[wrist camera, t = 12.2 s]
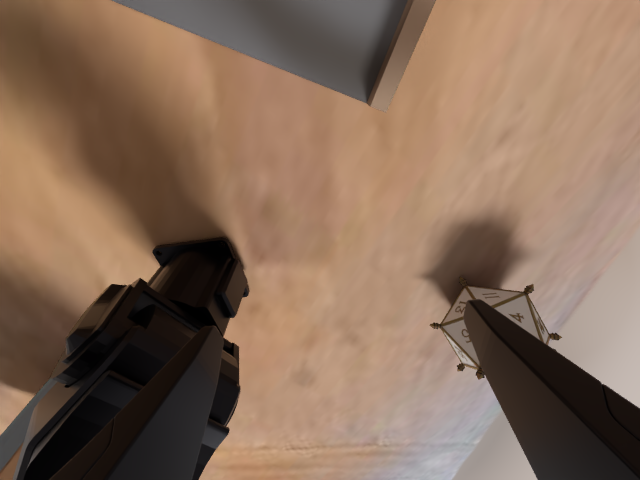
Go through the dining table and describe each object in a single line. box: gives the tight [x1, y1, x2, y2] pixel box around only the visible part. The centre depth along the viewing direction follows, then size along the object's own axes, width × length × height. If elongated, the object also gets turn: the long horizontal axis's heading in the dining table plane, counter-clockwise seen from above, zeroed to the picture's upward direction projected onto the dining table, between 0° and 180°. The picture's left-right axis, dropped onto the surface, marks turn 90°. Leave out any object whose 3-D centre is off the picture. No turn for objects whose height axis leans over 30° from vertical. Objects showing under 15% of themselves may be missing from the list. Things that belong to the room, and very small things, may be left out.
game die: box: [430, 277, 562, 380], centre depth 22 cm, size 9×8×10 cm
